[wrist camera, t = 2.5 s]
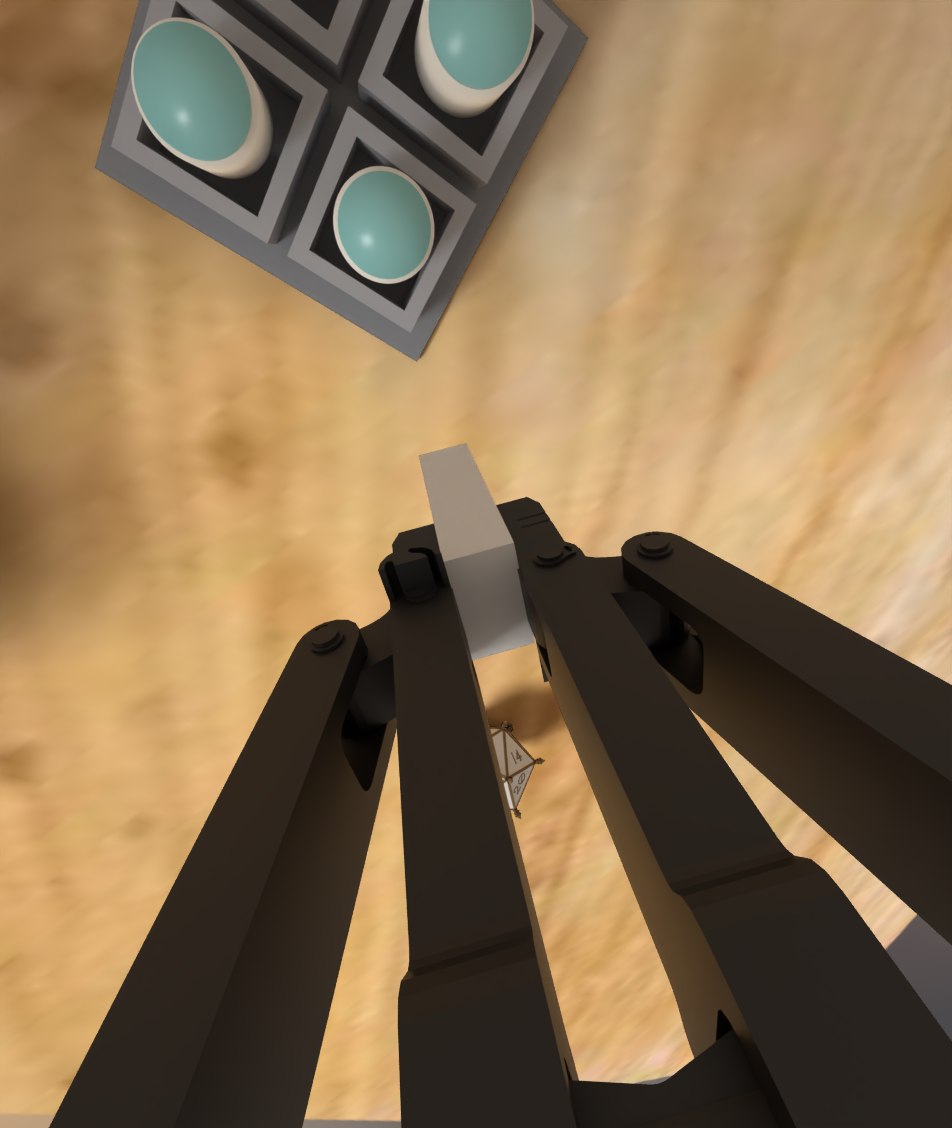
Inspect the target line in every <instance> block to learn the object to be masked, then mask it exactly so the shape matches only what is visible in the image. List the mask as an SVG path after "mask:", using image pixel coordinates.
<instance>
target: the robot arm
mask: <svg viewBox="0 0 952 1128" xmlns="http://www.w3.org/2000/svg"><path fill="white" fill-rule="evenodd" d="M419 459H420V463H421V468H422V472H423V477H424V481H425V485H426V490H427V494H428V499H429V503H430V508H431V512H432V517H433V521H434V524H431V525H427V526H423V527H420V528H416V529H412V530H409V531H405V532H401V533H399V534H398V536H397V537H396V539H395V541H394V542H393V544H392V547H393V553H391V554H390V555H388V556H387V557H386V558H385V559H384V560H383V561H382V562H381V563H380V566H379V569H378V571H379V574H380V577H381V580H382V582H383V585H384V588H385V590H386V593H387V596H388V598H389V601H390V610H389V611H388V612H387V613H386V614H385V615H384V616H382V617H381V618H380V619H378V620H376V621H375V622H373V623H371V624H369V625H367V626H365V627H363V628H361V629H359V628H358V626H357V625H356V623H354V622H352V621H349V620H334V621H330V622H325V623H323V624H320V625H318V626H316V627H315V628H313V629H312V630H310V631H309V632H308V633H306V634H305V635H304V636H303V637H302V638H301V639H300V641H299V642H298V643H297V645H296V647H295V649H294V651H293V653H292V655H291V656H290V658H289V660H288V662H287V664H286V666H285V668H284V670H283V672H282V674H281V676H280V678H279V680H278V682H277V684H276V686H275V688H274V690H273V692H272V694H271V695H270V697H269V699H268V701H267V703H266V705H265V707H264V709H263V711H262V713H261V715H260V717H259V719H258V721H257V723H256V725H255V727H254V729H253V731H252V733H251V734H250V736H249V738H248V740H247V742H246V744H245V746H244V748H243V750H242V752H241V754H240V756H239V758H238V760H237V762H236V764H235V766H234V768H233V770H232V772H231V774H230V775H229V777H228V779H227V781H226V783H225V785H224V787H223V789H222V791H221V793H220V795H219V797H218V799H217V801H216V803H215V805H214V807H213V809H212V811H211V813H210V814H209V816H208V818H207V820H206V822H205V824H204V826H203V828H202V830H201V832H200V834H199V836H198V838H197V840H196V842H195V844H194V846H193V848H192V850H191V852H190V853H189V855H188V857H187V859H186V861H185V863H184V865H183V867H182V869H181V871H180V873H179V875H178V877H177V879H176V881H175V883H174V885H173V887H172V889H171V891H170V892H169V894H168V896H167V898H166V900H165V902H164V904H163V906H162V908H161V910H160V912H159V914H158V916H157V918H156V920H155V922H154V924H153V926H152V928H151V930H150V931H149V933H148V935H147V937H146V939H145V941H144V943H143V945H142V947H141V949H140V951H139V953H138V955H137V957H136V959H135V961H134V963H133V965H132V967H131V969H130V971H129V972H128V974H127V976H126V978H125V980H124V982H123V984H122V986H121V988H120V990H119V992H118V994H117V996H116V998H115V1000H114V1002H113V1004H112V1006H111V1008H110V1010H109V1011H108V1013H107V1015H106V1017H105V1019H104V1021H103V1023H102V1025H101V1027H100V1029H99V1031H98V1033H97V1035H96V1037H95V1039H94V1041H93V1043H92V1045H91V1047H90V1049H89V1050H88V1052H87V1054H86V1056H85V1058H84V1060H83V1062H82V1064H81V1066H80V1068H79V1070H78V1072H77V1074H76V1076H75V1078H74V1080H73V1082H72V1084H71V1086H70V1088H69V1089H68V1091H67V1093H66V1095H65V1097H64V1099H63V1101H62V1103H61V1105H60V1107H59V1109H58V1111H57V1113H56V1115H55V1117H54V1119H53V1121H52V1123H51V1125H50V1127H49V1128H302V1126H303V1122H304V1117H305V1113H306V1109H307V1105H308V1100H309V1096H310V1092H311V1088H312V1084H313V1079H314V1075H315V1071H316V1067H317V1062H318V1058H319V1054H320V1050H321V1046H322V1041H323V1037H324V1033H325V1029H326V1025H327V1020H328V1016H329V1012H330V1008H331V1003H332V999H333V995H334V991H335V987H336V982H337V978H338V974H339V970H340V965H341V961H342V957H343V953H344V949H345V944H346V940H347V936H348V932H349V927H350V923H351V919H352V915H353V911H354V906H355V902H356V898H357V894H358V889H359V885H360V881H361V877H362V873H363V868H364V864H365V860H366V856H367V851H368V847H369V843H370V839H371V835H372V830H373V826H374V822H375V818H376V813H377V809H378V805H379V801H380V797H381V792H382V788H383V784H384V780H385V775H386V771H387V767H388V763H389V759H390V754H391V750H392V746H393V742H394V737H395V733H396V729H397V737H398V755H399V773H400V791H401V809H402V827H403V845H404V863H405V881H406V899H407V917H408V935H409V967H408V972H407V973H406V975H405V976H404V977H403V979H402V980H401V984H400V990H399V996H398V1043H399V1071H400V1099H401V1126H402V1128H952V1041H951V1040H950V1038H949V1037H948V1036H947V1035H946V1033H945V1032H944V1030H943V1029H942V1028H941V1026H940V1025H939V1023H938V1022H937V1020H936V1019H935V1018H934V1017H933V1015H932V1014H931V1012H930V1011H929V1010H928V1008H927V1007H926V1005H925V1004H924V1003H923V1002H922V1000H921V998H920V997H919V996H918V994H917V993H916V992H915V990H914V989H913V988H912V986H911V985H910V983H909V982H908V981H907V980H906V978H905V976H904V975H903V974H902V972H901V971H900V970H899V968H898V967H897V965H896V964H895V963H894V962H893V960H892V959H891V957H890V956H889V954H888V953H887V952H886V950H885V949H884V948H883V946H882V945H881V943H880V942H879V941H878V939H877V938H876V937H875V935H874V934H873V932H872V931H871V930H870V928H869V927H868V926H867V924H866V923H865V921H864V920H863V919H862V917H861V916H860V915H859V913H858V912H857V910H856V909H855V908H854V906H853V905H852V904H851V902H850V901H849V899H848V898H847V897H846V895H845V894H844V893H843V891H842V890H841V889H840V888H839V886H838V885H837V884H836V883H835V882H834V880H833V879H832V878H831V877H830V876H829V874H828V873H827V872H826V871H825V870H824V869H823V868H821V867H820V866H819V865H818V864H816V863H815V862H814V861H813V860H811V859H808V858H803V857H798V856H794V855H793V854H792V853H790V852H789V851H788V850H787V849H786V848H785V847H784V845H783V844H782V843H781V842H780V840H779V839H778V838H777V836H776V835H775V833H774V832H773V830H772V829H771V827H770V826H769V824H768V823H767V822H766V820H765V819H764V817H763V816H762V814H761V813H760V811H759V810H758V808H757V807H756V805H755V804H754V802H753V801H752V800H751V798H750V797H749V795H748V794H747V792H746V791H745V789H744V788H743V786H742V785H741V783H740V782H739V781H738V779H737V778H736V776H735V775H734V773H733V772H732V770H731V769H730V767H729V766H728V764H727V763H726V761H725V760H724V759H723V757H722V756H721V754H720V753H719V751H718V750H717V748H716V747H715V745H714V744H713V742H712V741H711V740H710V738H709V737H708V735H707V734H706V732H705V731H704V729H703V728H702V726H701V725H700V723H699V722H698V720H697V719H696V718H695V716H694V715H693V713H692V712H691V710H692V711H693V712H694V713H696V714H697V715H698V716H699V717H700V718H701V719H702V720H703V721H704V722H706V723H707V724H708V725H709V726H710V727H711V728H712V729H713V730H714V731H715V732H717V733H718V734H719V735H720V736H721V737H722V738H723V739H724V740H725V741H727V742H728V743H729V744H730V745H731V746H732V747H733V748H734V749H735V750H736V751H738V752H739V753H740V754H741V755H742V756H743V757H744V758H745V759H746V760H747V761H749V762H750V763H751V764H752V765H753V766H754V767H755V768H756V769H757V770H759V771H760V772H761V773H762V774H763V775H764V776H765V777H766V778H767V779H768V780H770V781H771V782H772V783H773V784H774V785H775V786H776V787H777V788H778V789H780V790H781V791H782V792H783V793H784V794H785V795H786V796H787V797H788V798H789V799H791V800H792V801H793V802H794V803H795V804H796V805H797V806H798V807H799V808H801V809H802V810H803V811H804V812H805V813H806V814H807V815H808V816H809V817H810V818H812V819H813V820H814V821H815V822H816V823H817V824H818V825H819V826H820V827H822V828H823V829H824V830H825V831H826V832H827V833H828V834H829V835H830V836H831V837H833V838H834V839H835V840H836V841H837V842H838V843H839V844H840V845H841V846H843V847H844V848H845V849H846V850H847V851H848V852H849V853H850V854H851V855H852V856H854V857H855V858H856V859H857V860H858V861H859V862H860V863H861V864H862V865H864V866H865V867H866V868H867V869H868V870H869V871H870V872H871V873H872V874H873V875H875V876H876V877H877V878H878V879H879V880H880V881H881V882H882V883H883V884H885V885H886V886H887V887H888V888H889V889H890V890H891V891H892V892H893V893H894V894H896V895H897V896H898V897H899V898H900V899H901V900H902V901H903V902H904V903H906V904H907V905H908V906H909V907H910V908H911V909H912V910H913V911H914V912H915V913H917V914H918V915H919V916H920V917H921V918H922V919H923V920H924V921H926V922H927V923H928V924H929V925H930V926H931V927H932V928H933V929H934V930H936V932H938V933H939V934H940V935H941V936H942V937H943V938H944V939H946V941H948V942H949V943H950V944H951V945H952V685H951V684H949V683H947V682H945V681H943V680H942V679H940V678H938V677H936V676H934V675H932V674H931V673H929V672H927V671H925V670H923V669H921V668H920V667H918V666H916V665H914V664H912V663H911V662H909V661H907V660H905V659H903V658H901V657H900V656H898V655H896V654H894V653H892V652H890V651H889V650H887V649H885V648H883V647H881V646H880V645H878V644H876V643H874V642H872V641H870V640H869V639H867V638H865V637H863V636H861V635H859V634H858V633H856V632H854V631H852V630H850V629H849V628H847V627H845V626H843V625H841V624H839V623H838V622H836V621H834V620H832V619H830V618H828V617H827V616H825V615H823V614H821V613H819V612H817V611H816V610H814V609H812V608H810V607H808V606H807V605H805V604H803V603H801V602H799V601H797V600H796V599H794V598H792V597H790V596H788V595H786V594H785V593H783V592H781V591H779V590H777V589H776V588H774V587H772V586H770V585H768V584H766V583H765V582H763V581H761V580H759V579H757V578H755V577H754V576H752V575H750V574H748V573H746V572H745V571H743V570H741V569H739V568H737V567H735V566H734V565H732V564H730V563H728V562H726V561H724V560H723V559H721V558H719V557H717V556H715V555H714V554H712V553H710V552H708V551H706V550H704V549H703V548H701V547H699V546H697V545H695V544H693V543H692V542H690V541H688V540H686V539H684V538H682V537H680V536H678V535H675V534H672V533H666V532H647V533H643V534H640V535H636V536H634V537H632V538H630V539H629V540H627V541H626V542H625V543H624V545H623V546H622V548H621V552H622V556H617V557H600V558H594V557H587V556H585V555H584V554H583V552H582V551H581V549H580V548H578V547H577V546H576V545H574V544H571V543H568V542H565V541H564V540H563V538H562V537H561V535H560V534H559V532H558V531H557V529H556V527H555V526H554V524H553V523H552V521H550V518H549V517H548V515H547V514H546V513H545V511H544V509H543V508H542V506H541V505H540V503H539V502H537V501H534V500H532V499H530V498H528V497H525V498H521V499H518V500H514V501H510V502H507V503H503V504H499V505H496V504H495V502H494V500H493V498H492V496H491V494H490V492H489V490H488V488H487V485H486V483H485V481H484V479H483V477H482V475H481V473H480V471H479V469H478V467H477V465H476V463H475V460H474V458H473V456H472V454H471V452H470V450H469V448H468V446H467V444H466V443H464V444H461V445H457V446H453V447H449V448H446V449H442V450H438V451H434V452H431V453H427V454H423V455H419ZM532 632H533V634H534V637H535V639H536V643H537V648H538V653H539V658H540V663H541V668H542V673H543V678H544V682H547V681H549V683H550V685H551V688H552V690H553V693H554V695H555V698H556V700H557V703H558V705H559V708H560V710H561V713H562V715H563V718H564V720H565V723H566V725H567V728H568V730H569V732H570V735H571V737H572V740H573V742H574V745H575V747H576V750H577V752H578V755H579V757H580V760H581V762H582V765H583V767H584V770H585V772H586V775H587V777H588V780H589V782H590V785H591V787H592V790H593V792H594V795H595V797H596V800H597V802H598V805H599V807H600V810H601V812H602V814H603V817H604V819H605V822H606V824H607V827H608V829H609V832H610V834H611V837H612V839H613V842H614V844H615V847H616V849H617V852H618V854H619V857H620V859H621V862H622V864H623V867H624V869H625V872H626V874H627V877H628V879H629V882H630V884H631V887H632V889H633V891H634V894H635V896H636V899H637V901H638V904H639V906H640V909H641V911H642V914H643V916H644V919H645V921H646V924H647V926H648V929H649V931H650V934H651V936H652V939H653V941H654V944H655V946H656V949H657V951H658V954H659V956H660V959H661V961H662V964H663V966H664V969H665V971H666V973H667V976H668V979H669V981H670V984H671V986H672V989H673V992H674V995H675V998H676V1001H677V1004H678V1008H679V1012H680V1015H681V1019H682V1022H683V1026H684V1029H685V1032H686V1035H687V1038H688V1041H689V1044H690V1047H691V1050H692V1053H693V1056H694V1058H695V1059H693V1060H692V1061H691V1062H689V1063H688V1064H687V1065H686V1066H684V1067H683V1068H682V1069H680V1070H679V1071H678V1072H677V1073H675V1074H674V1075H673V1076H671V1077H670V1078H669V1079H667V1080H666V1081H664V1082H662V1083H659V1084H654V1085H647V1084H629V1083H611V1082H593V1081H579V1079H578V1075H577V1072H576V1068H575V1064H574V1060H573V1057H572V1053H571V1049H570V1046H569V1042H568V1038H567V1035H566V1031H565V1027H564V1023H563V1019H562V1015H561V1011H560V1007H559V1003H558V999H557V995H556V991H555V987H554V983H553V979H552V975H551V971H550V967H549V963H548V959H547V955H546V951H545V947H544V943H543V939H542V935H541V931H540V927H539V923H538V919H537V915H536V911H535V907H534V903H533V899H532V895H531V891H530V887H529V883H528V879H527V875H526V871H525V867H524V863H523V859H522V855H521V851H520V847H519V843H518V839H517V835H516V831H515V827H514V823H513V819H512V815H511V811H510V807H509V803H508V799H507V795H506V791H505V787H504V783H503V779H502V775H501V771H500V767H499V763H498V758H497V754H496V750H495V746H494V742H493V738H492V734H491V730H490V726H489V722H488V718H487V714H486V710H485V706H484V702H483V698H482V694H481V690H480V686H479V682H478V678H477V674H476V671H475V667H474V664H473V661H472V660H475V659H479V658H482V657H486V656H490V655H493V654H497V653H500V652H504V651H508V650H511V649H515V648H518V647H522V646H525V645H529V644H533V643H534V639H533V634H532ZM689 708H690V709H691V710H690V709H689Z"/></svg>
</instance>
